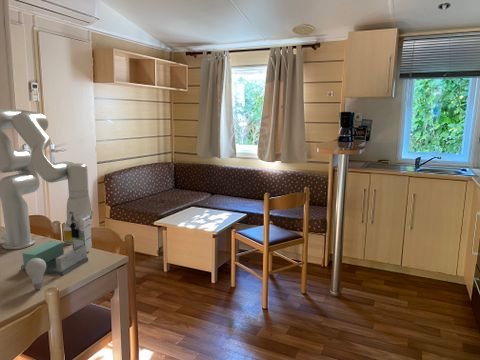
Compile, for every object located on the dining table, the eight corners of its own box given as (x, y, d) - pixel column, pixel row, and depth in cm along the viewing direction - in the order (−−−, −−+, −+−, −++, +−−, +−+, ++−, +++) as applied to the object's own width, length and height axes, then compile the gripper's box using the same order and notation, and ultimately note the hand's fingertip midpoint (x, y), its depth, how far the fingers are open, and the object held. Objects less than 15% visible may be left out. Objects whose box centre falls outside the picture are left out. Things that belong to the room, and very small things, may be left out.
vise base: (21, 269, 139) (19, 253, 138) (49, 255, 152) (47, 241, 151) (63, 275, 134) (61, 258, 133) (88, 260, 147) (86, 245, 146)
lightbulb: (52, 286, 126) (49, 256, 124) (37, 294, 120) (34, 263, 118) (39, 283, 128) (35, 254, 126) (23, 291, 122) (20, 260, 120)
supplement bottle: (78, 242, 168) (77, 222, 166) (66, 245, 164) (64, 224, 163) (75, 239, 172) (74, 219, 170) (63, 241, 169) (61, 221, 167)
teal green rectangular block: (23, 265, 138) (22, 253, 137) (51, 252, 152) (50, 240, 151) (36, 267, 137) (35, 255, 136) (63, 253, 150) (62, 242, 149)
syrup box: (92, 247, 159) (90, 215, 156) (85, 252, 153) (83, 219, 150) (79, 246, 159) (78, 214, 156) (72, 251, 153) (70, 218, 151)
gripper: (84, 188, 160) (87, 227, 164) (55, 197, 144) (58, 240, 148) (99, 190, 159) (101, 229, 162) (71, 199, 142) (74, 242, 146)
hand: (81, 234), depth 155 cm, fingers closed on syrup box, 6 cm apart
